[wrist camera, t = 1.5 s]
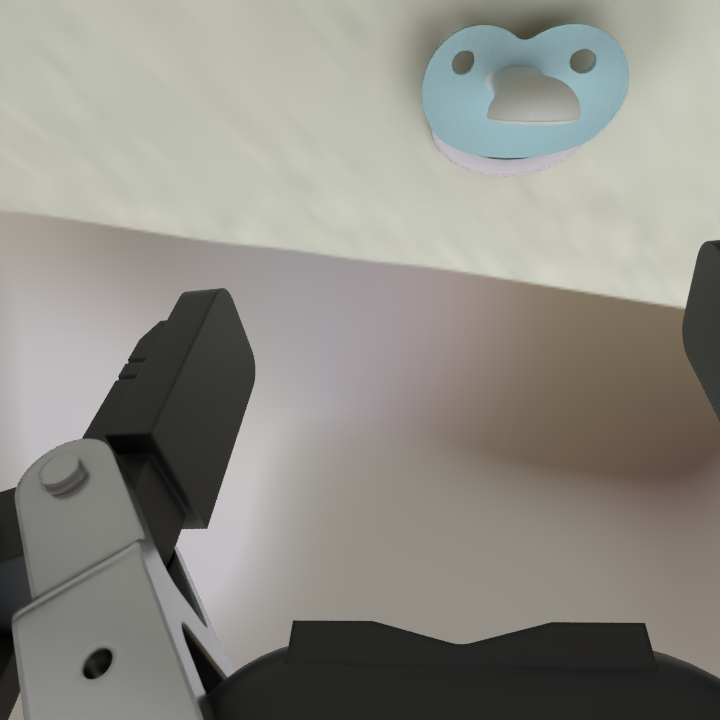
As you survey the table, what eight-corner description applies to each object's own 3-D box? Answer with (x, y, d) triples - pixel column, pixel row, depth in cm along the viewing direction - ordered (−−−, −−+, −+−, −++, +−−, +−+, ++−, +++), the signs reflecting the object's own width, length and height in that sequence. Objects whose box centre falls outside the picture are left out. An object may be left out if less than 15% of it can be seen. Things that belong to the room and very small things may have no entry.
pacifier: (587, 168, 26) (624, 12, 22) (624, 246, 21) (680, 67, 17) (417, 168, 26) (423, 16, 22) (418, 244, 22) (425, 70, 18)
